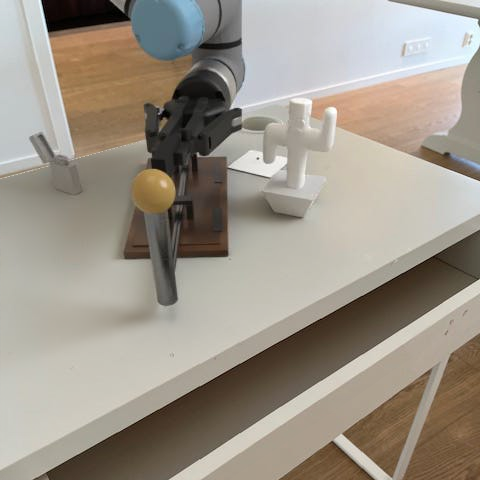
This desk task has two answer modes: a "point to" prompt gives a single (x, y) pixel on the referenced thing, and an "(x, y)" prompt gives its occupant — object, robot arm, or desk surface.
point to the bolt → (160, 226)
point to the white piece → (258, 164)
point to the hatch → (191, 212)
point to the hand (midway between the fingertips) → (159, 171)
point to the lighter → (57, 165)
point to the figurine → (296, 157)
